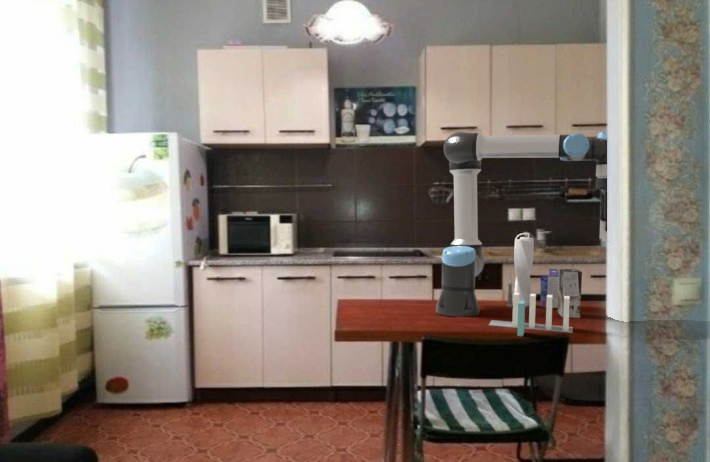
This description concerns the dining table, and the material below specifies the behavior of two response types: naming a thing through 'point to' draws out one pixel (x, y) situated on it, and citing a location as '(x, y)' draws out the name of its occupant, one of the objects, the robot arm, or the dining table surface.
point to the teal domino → (521, 318)
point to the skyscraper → (522, 269)
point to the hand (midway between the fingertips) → (605, 240)
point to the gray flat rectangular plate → (526, 326)
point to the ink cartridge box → (549, 288)
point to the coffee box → (570, 291)
